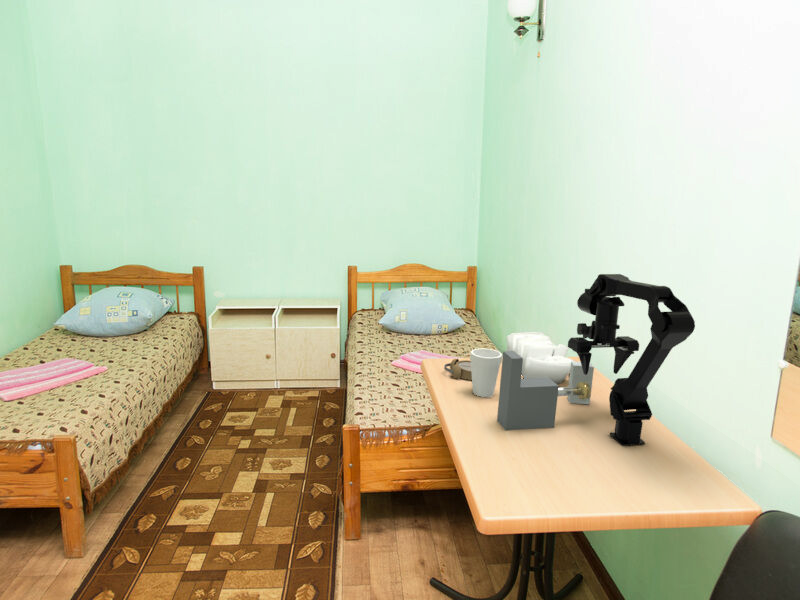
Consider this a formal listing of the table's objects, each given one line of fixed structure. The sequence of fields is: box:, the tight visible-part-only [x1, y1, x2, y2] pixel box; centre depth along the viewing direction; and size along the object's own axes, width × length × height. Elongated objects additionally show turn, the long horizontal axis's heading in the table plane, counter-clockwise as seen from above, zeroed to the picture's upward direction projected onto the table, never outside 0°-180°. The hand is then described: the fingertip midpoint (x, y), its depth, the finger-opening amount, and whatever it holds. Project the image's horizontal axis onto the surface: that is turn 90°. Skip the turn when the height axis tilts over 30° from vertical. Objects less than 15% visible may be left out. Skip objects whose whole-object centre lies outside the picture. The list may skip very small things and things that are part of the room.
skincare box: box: [566, 360, 595, 405], centre depth 170 cm, size 6×4×12 cm
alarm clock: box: [443, 358, 472, 381], centre depth 189 cm, size 11×5×15 cm
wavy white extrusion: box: [506, 331, 576, 385], centre depth 197 cm, size 35×16×10 cm, turn 3°
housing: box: [496, 350, 560, 431], centre depth 152 cm, size 6×14×20 cm, turn 102°
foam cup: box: [469, 347, 503, 398], centre depth 173 cm, size 10×9×13 cm
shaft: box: [558, 382, 592, 399], centre depth 154 cm, size 5×13×5 cm, turn 102°
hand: (600, 373), depth 158 cm, fingers open, 9 cm apart
